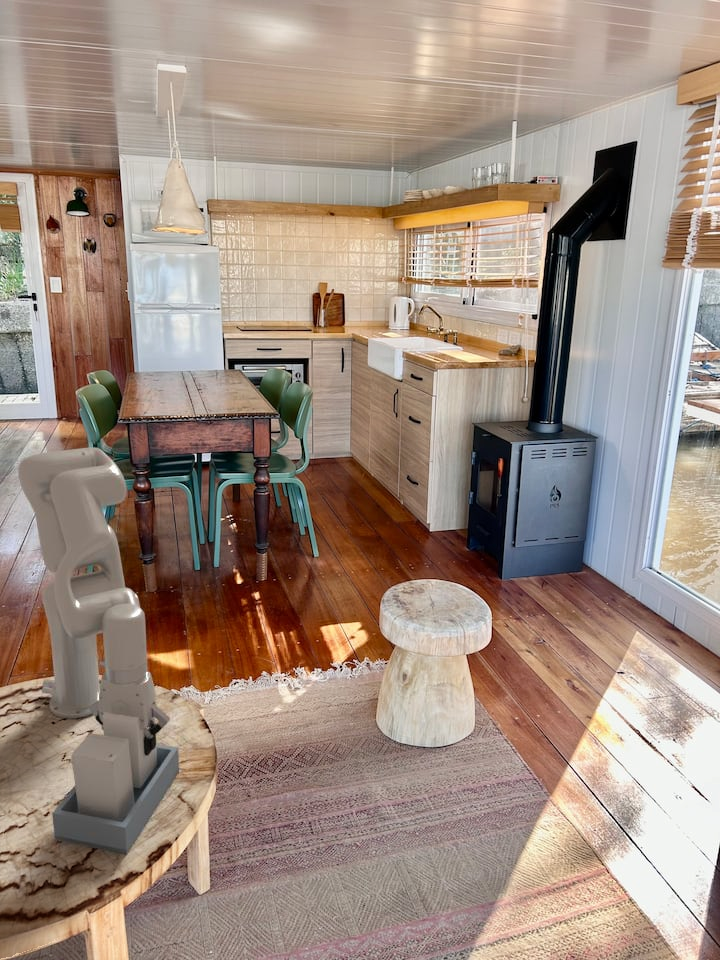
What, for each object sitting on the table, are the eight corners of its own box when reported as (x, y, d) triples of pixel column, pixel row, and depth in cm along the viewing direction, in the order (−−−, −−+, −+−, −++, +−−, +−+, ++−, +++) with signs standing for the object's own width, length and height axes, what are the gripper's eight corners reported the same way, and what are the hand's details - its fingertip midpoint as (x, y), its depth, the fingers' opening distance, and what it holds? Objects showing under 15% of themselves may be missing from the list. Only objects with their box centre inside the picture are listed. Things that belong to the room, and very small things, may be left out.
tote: (55, 840, 133) (52, 813, 131) (115, 760, 153) (114, 736, 152) (126, 854, 130) (125, 827, 129) (178, 772, 151) (178, 747, 149)
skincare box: (135, 807, 140) (131, 738, 135) (117, 832, 134) (113, 761, 129) (95, 798, 141) (90, 730, 137) (76, 823, 135) (70, 753, 130)
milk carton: (140, 789, 142) (136, 705, 136) (106, 782, 143) (100, 699, 137) (157, 765, 148) (153, 683, 143) (125, 759, 150) (120, 678, 144)
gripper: (73, 672, 136) (79, 752, 142) (161, 686, 133) (164, 767, 139) (94, 651, 143) (100, 728, 149) (178, 664, 140) (180, 742, 146)
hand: (131, 747), depth 144 cm, fingers closed on milk carton, 7 cm apart
